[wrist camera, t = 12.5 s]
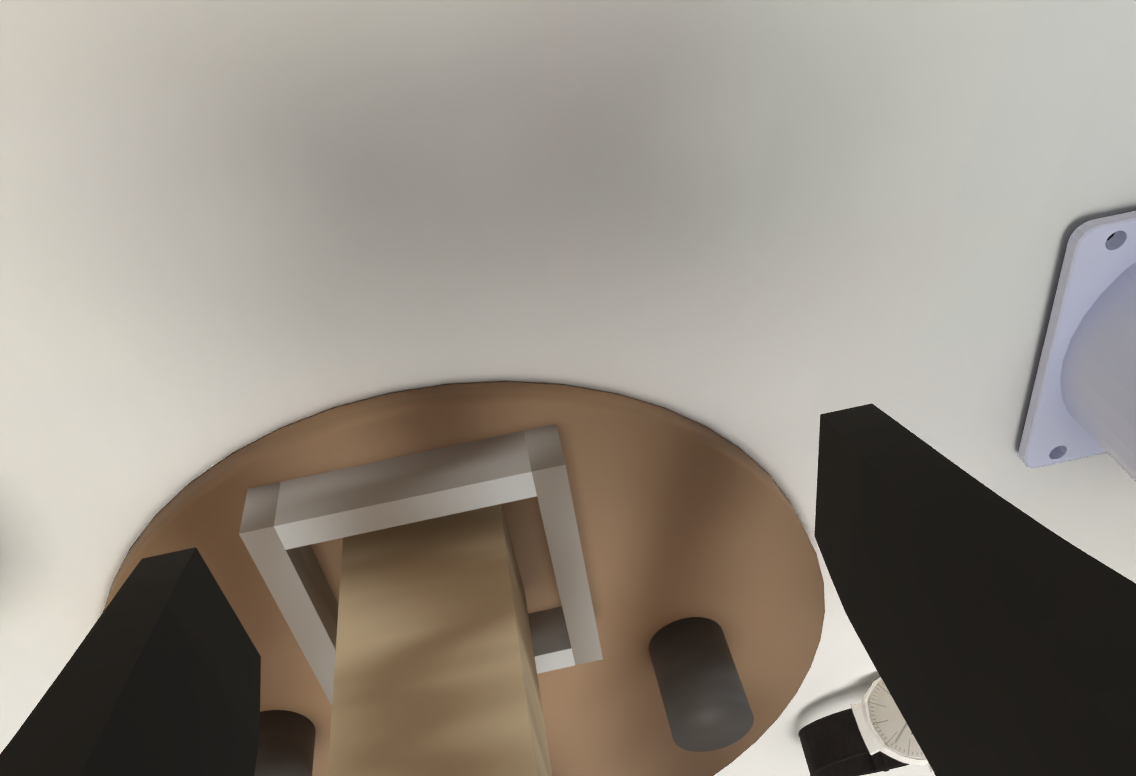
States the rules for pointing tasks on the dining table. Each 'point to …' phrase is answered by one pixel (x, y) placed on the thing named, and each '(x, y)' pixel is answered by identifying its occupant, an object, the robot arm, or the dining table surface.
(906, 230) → the dining table surface
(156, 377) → the dining table surface
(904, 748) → the watch
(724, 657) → the stool seat
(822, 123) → the dining table surface
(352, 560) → the stool leg
